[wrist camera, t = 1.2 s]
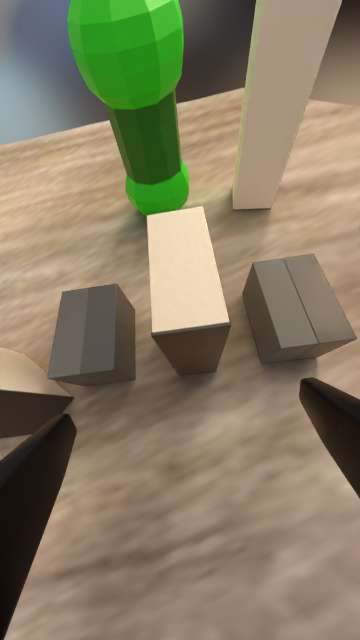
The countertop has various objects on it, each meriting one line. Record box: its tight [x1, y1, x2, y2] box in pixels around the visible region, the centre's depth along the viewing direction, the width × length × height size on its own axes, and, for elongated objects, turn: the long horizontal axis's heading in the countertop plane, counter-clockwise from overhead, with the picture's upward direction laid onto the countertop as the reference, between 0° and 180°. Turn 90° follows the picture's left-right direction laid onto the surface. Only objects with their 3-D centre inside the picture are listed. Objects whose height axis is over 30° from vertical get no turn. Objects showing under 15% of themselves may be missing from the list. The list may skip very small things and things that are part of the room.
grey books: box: [47, 254, 357, 386], centre depth 21 cm, size 9×26×6 cm, turn 96°
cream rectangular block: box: [147, 206, 231, 376], centre depth 18 cm, size 9×4×13 cm, turn 6°
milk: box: [232, 0, 342, 209], centre depth 23 cm, size 6×6×22 cm
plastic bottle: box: [67, 0, 189, 216], centre depth 22 cm, size 10×10×25 cm
